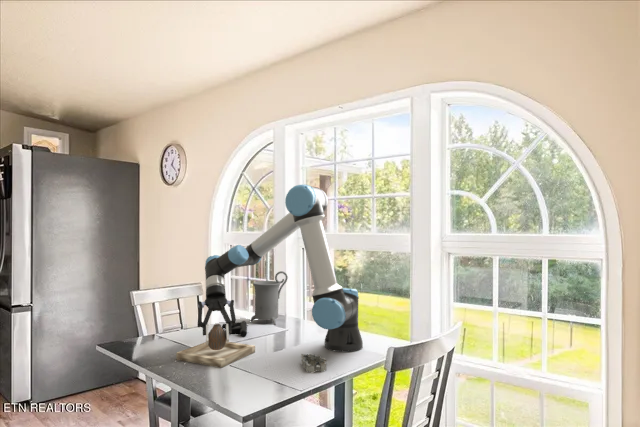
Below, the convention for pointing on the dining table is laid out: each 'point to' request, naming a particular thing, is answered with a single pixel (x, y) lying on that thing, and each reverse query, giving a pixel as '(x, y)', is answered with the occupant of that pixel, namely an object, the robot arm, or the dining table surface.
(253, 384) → the dining table surface
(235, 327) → the door handle
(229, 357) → the tray
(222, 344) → the vase
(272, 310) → the mug
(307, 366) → the egg carton
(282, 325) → the dining table surface
